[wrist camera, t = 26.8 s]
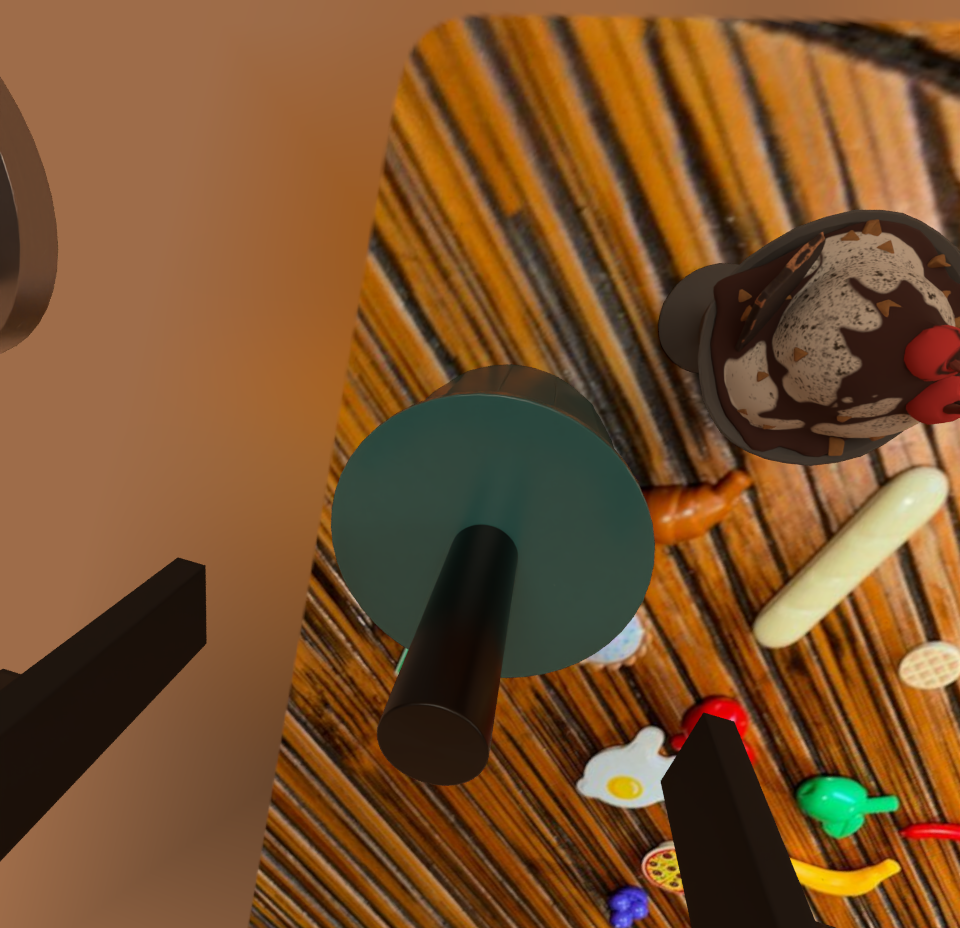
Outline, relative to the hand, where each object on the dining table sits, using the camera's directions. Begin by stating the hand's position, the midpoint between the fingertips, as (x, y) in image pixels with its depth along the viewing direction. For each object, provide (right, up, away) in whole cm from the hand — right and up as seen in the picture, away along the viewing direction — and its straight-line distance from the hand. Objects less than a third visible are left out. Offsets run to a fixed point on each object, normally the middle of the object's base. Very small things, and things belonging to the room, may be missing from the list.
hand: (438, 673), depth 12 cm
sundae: (+12, +12, +10) cm, 20 cm away
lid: (+1, +2, +6) cm, 7 cm away
